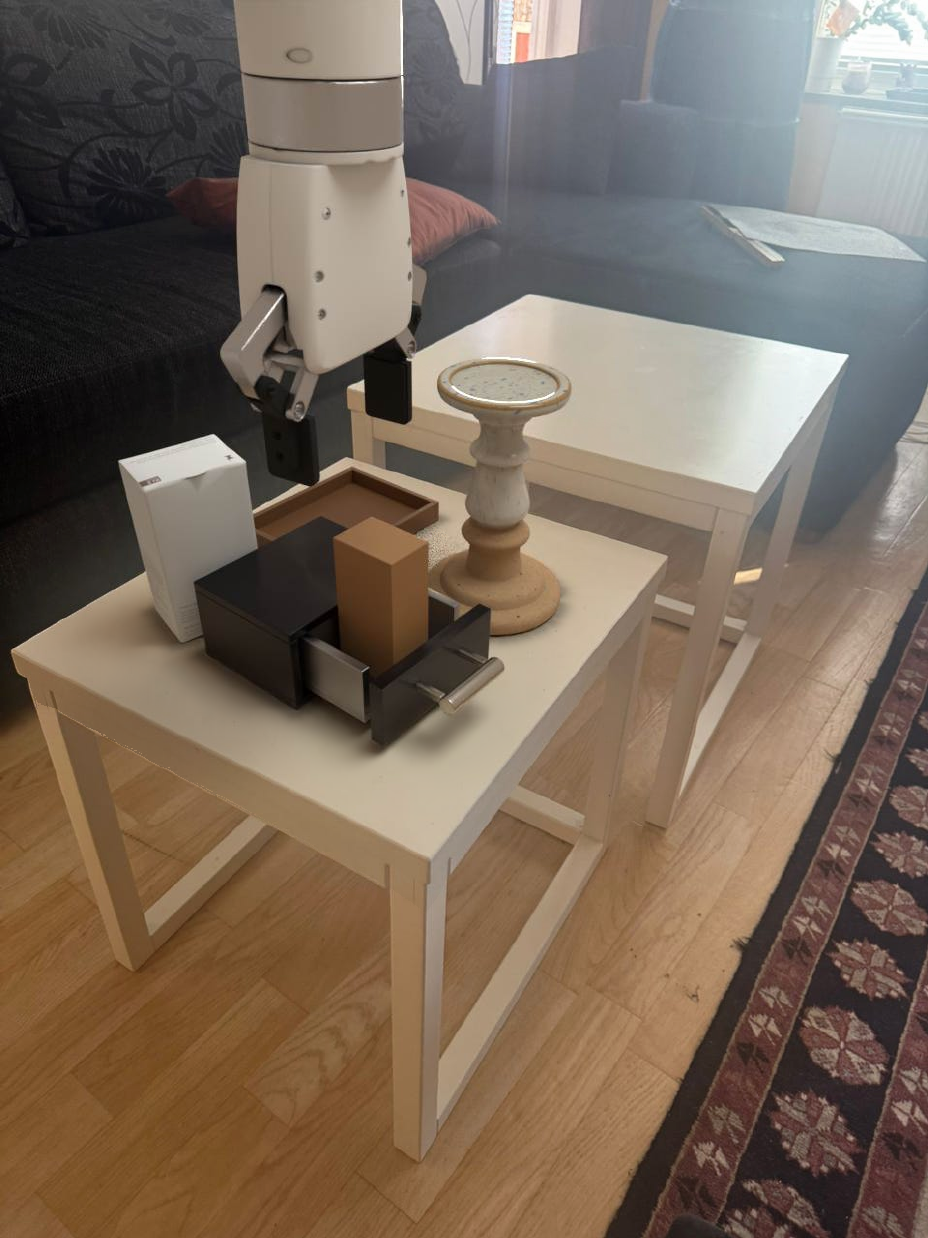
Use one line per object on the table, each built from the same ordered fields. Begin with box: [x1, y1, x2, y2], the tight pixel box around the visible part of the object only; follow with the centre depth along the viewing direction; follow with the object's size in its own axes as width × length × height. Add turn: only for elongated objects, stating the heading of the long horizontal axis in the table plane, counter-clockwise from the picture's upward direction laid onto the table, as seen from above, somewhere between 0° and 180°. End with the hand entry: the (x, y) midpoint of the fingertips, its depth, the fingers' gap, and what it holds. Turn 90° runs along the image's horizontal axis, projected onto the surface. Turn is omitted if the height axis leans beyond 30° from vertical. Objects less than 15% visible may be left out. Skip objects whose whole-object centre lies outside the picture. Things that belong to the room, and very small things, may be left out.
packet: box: [333, 517, 430, 678], centre depth 64 cm, size 4×6×11 cm
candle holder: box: [428, 357, 573, 636], centre depth 73 cm, size 12×12×20 cm
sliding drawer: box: [297, 588, 505, 748], centre depth 65 cm, size 13×12×5 cm
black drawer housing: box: [194, 516, 349, 711], centre depth 70 cm, size 11×14×7 cm
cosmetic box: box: [117, 433, 258, 644], centre depth 71 cm, size 8×6×15 cm
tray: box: [253, 466, 440, 548], centre depth 86 cm, size 16×12×2 cm
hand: (344, 446), depth 52 cm, fingers open, 9 cm apart
